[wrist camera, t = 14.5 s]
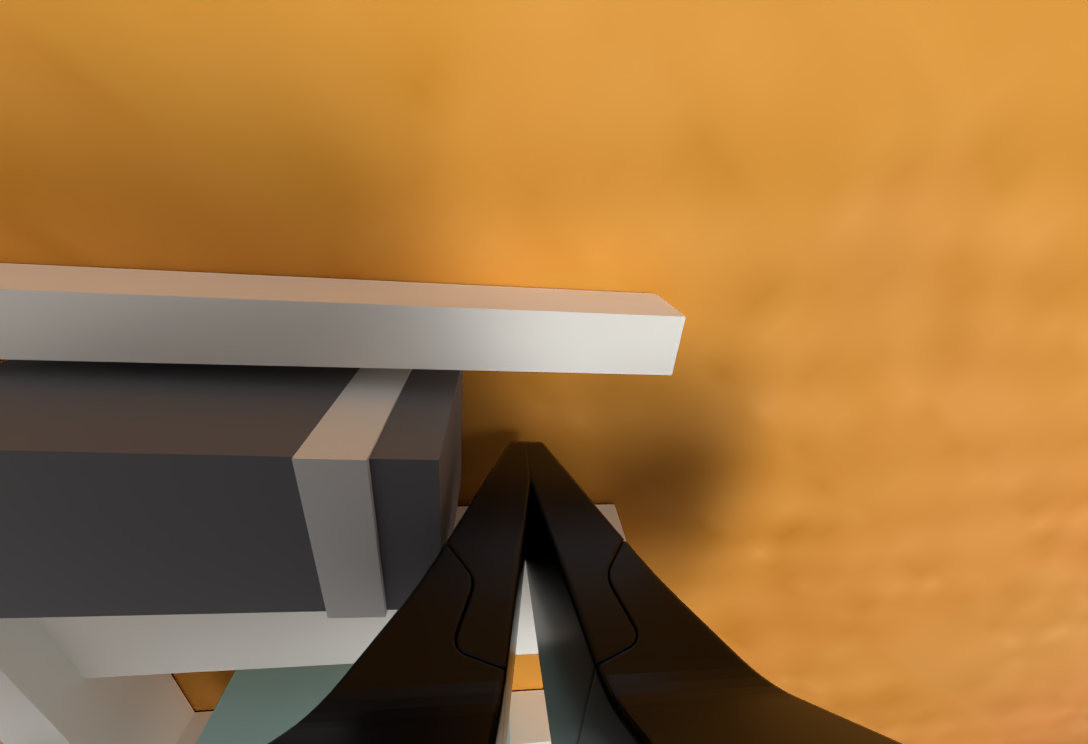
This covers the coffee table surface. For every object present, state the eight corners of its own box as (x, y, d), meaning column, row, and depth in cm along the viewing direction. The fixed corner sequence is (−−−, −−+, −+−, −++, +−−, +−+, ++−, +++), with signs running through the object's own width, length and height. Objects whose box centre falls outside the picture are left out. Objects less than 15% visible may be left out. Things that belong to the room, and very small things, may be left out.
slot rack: (575, 703, 16) (589, 811, 13) (163, 731, 15) (83, 862, 12) (655, 293, 9) (726, 348, 6) (-180, 254, 7) (-627, 306, 4)
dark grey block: (461, 481, 11) (441, 615, 7) (126, 476, 10) (-66, 627, 6) (462, 359, 9) (437, 461, 6) (61, 337, 8) (-236, 446, 5)
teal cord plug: (505, 677, 15) (504, 814, 12) (281, 689, 14) (214, 840, 11) (509, 619, 13) (510, 758, 10) (257, 628, 13) (171, 784, 9)
